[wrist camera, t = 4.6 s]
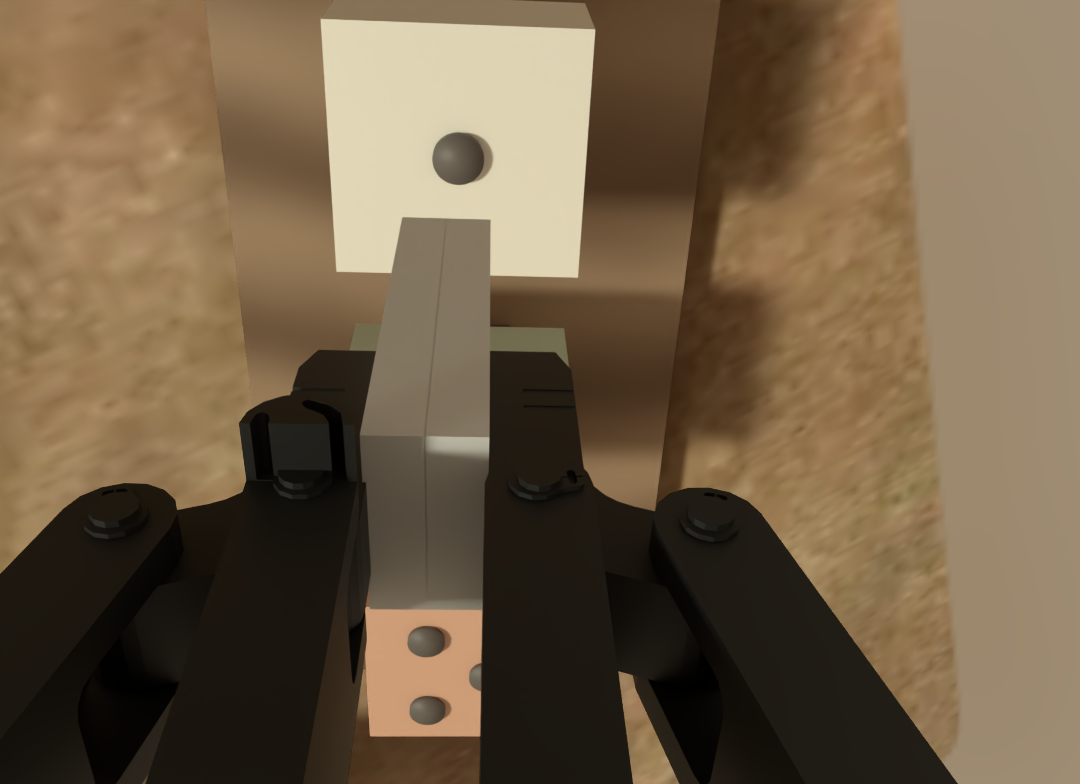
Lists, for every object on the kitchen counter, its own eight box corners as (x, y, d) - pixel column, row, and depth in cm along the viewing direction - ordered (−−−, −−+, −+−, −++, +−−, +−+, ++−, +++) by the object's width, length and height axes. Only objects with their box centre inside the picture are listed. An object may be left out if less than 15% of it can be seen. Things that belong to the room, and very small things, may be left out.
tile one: (338, -7, 25) (319, 20, 22) (584, 3, 25) (596, 31, 22) (350, 225, 28) (334, 275, 25) (570, 231, 28) (578, 281, 26)
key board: (200, -122, 27) (178, -114, 25) (725, -98, 28) (742, -89, 26) (287, 650, 41) (277, 691, 40) (631, 651, 42) (638, 692, 40)
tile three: (371, 545, 35) (361, 611, 32) (547, 547, 35) (552, 612, 33) (378, 671, 38) (369, 741, 35) (539, 671, 38) (543, 740, 36)
